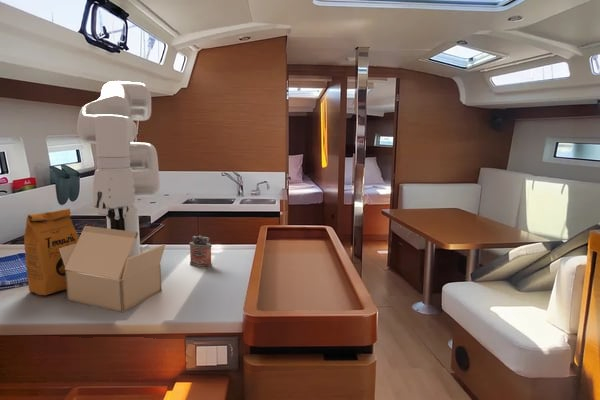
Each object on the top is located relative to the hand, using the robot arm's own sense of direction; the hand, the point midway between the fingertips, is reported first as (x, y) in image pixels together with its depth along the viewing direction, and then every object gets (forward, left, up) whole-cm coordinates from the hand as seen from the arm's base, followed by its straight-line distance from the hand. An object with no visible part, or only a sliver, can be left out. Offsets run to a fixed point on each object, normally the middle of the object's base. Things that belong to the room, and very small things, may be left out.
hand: (118, 233), depth 100 cm
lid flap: (+5, 0, -4) cm, 6 cm away
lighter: (-27, +7, -17) cm, 33 cm away
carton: (+2, 0, -17) cm, 17 cm away
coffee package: (+4, -18, -17) cm, 25 cm away
